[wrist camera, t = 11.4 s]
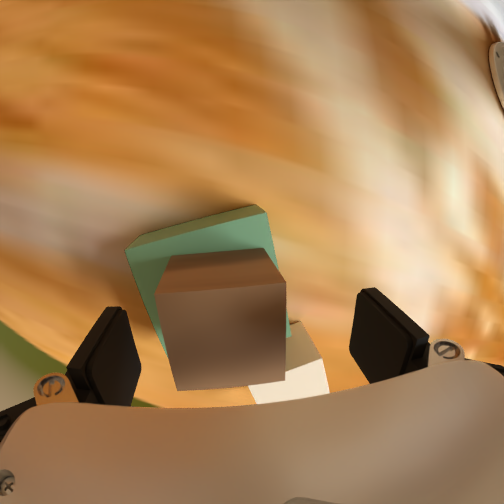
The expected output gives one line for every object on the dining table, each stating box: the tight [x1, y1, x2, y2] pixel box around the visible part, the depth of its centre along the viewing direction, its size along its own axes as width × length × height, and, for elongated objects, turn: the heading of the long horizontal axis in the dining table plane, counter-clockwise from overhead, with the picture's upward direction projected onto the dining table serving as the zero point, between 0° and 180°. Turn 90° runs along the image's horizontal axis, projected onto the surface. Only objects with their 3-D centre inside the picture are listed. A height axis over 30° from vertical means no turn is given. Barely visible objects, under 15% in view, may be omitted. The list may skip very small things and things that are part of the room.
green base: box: [125, 205, 292, 357], centre depth 18 cm, size 8×8×4 cm
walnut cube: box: [154, 248, 286, 391], centre depth 13 cm, size 5×5×5 cm
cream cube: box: [248, 321, 330, 404], centre depth 20 cm, size 5×5×5 cm
